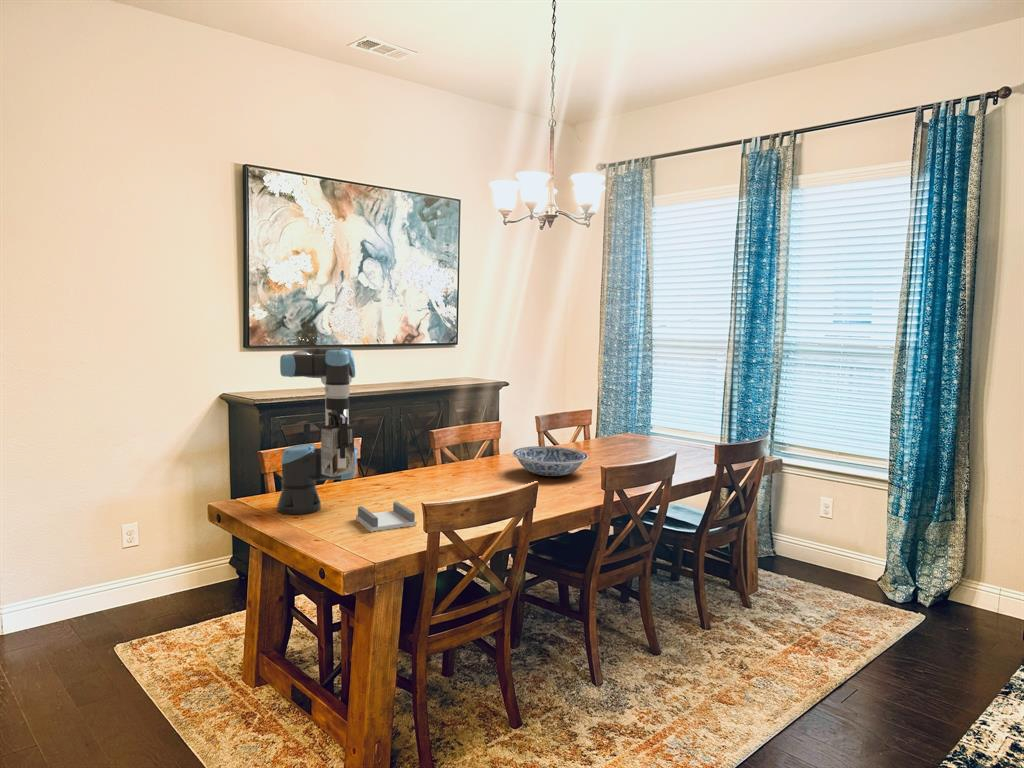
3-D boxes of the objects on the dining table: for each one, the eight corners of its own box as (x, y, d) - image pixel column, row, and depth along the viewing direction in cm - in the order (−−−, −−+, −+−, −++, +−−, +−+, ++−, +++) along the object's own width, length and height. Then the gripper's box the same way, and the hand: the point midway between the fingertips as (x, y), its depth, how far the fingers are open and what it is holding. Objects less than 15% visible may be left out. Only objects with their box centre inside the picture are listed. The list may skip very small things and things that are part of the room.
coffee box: (343, 469, 240) (342, 422, 239) (355, 472, 236) (354, 425, 235) (320, 474, 233) (320, 425, 232) (332, 477, 229) (332, 428, 228)
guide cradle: (355, 519, 246) (355, 507, 245) (399, 513, 254) (399, 501, 253) (371, 532, 232) (371, 518, 231) (416, 525, 240) (416, 512, 240)
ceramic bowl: (560, 487, 297) (561, 464, 296) (496, 475, 318) (497, 453, 317) (601, 473, 324) (602, 452, 323) (540, 463, 345) (540, 443, 344)
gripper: (317, 394, 239) (318, 460, 241) (335, 401, 221) (335, 472, 224) (339, 393, 243) (339, 458, 245) (358, 400, 225) (358, 470, 227)
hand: (338, 465), depth 234 cm, fingers closed on coffee box, 8 cm apart
